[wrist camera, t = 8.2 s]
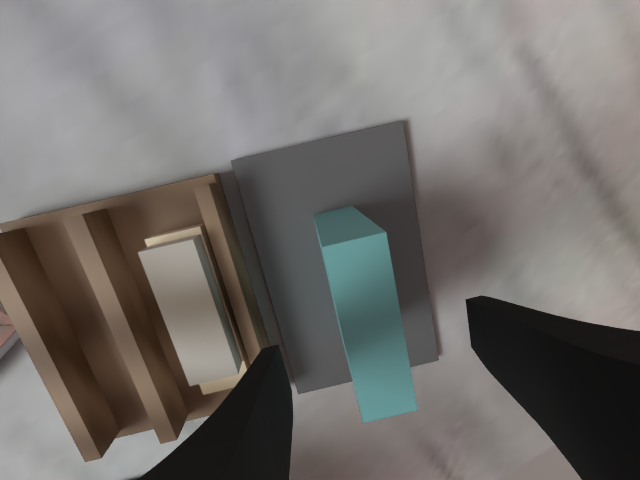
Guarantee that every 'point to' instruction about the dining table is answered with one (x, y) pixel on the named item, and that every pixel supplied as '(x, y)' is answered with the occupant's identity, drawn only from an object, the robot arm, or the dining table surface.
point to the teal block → (367, 311)
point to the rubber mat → (304, 248)
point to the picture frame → (6, 332)
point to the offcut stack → (195, 307)
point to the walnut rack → (117, 309)
